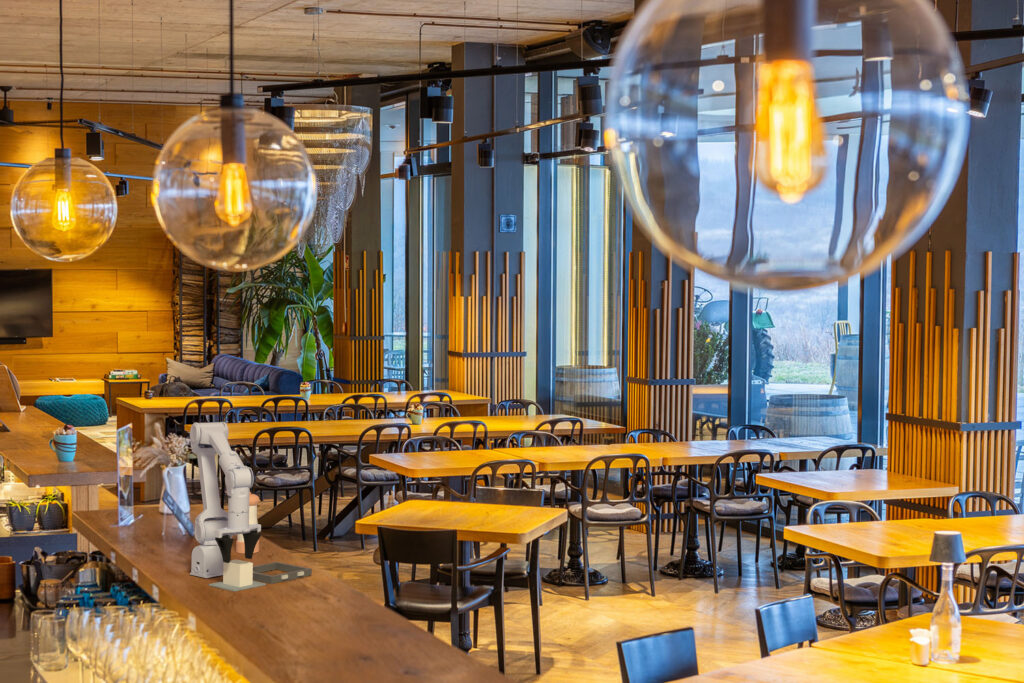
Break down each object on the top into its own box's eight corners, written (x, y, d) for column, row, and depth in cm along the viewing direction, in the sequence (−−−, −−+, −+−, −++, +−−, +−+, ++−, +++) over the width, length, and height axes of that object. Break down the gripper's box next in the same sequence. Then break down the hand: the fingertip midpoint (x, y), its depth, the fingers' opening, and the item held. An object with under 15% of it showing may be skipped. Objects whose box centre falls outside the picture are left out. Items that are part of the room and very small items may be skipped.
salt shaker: (256, 553, 362) (257, 493, 362) (233, 553, 362) (234, 493, 362) (261, 549, 369) (262, 490, 369) (239, 549, 369) (240, 490, 369)
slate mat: (234, 591, 308) (234, 590, 308) (208, 585, 315) (208, 584, 315) (265, 585, 317) (265, 583, 317) (240, 579, 324) (240, 577, 324)
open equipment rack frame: (272, 584, 318) (273, 577, 318) (236, 576, 328) (236, 569, 328) (313, 575, 330) (313, 569, 330) (277, 568, 340) (277, 561, 340)
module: (239, 587, 312) (239, 564, 312) (223, 583, 316) (223, 561, 316) (252, 584, 316) (252, 562, 316) (236, 580, 320) (236, 558, 320)
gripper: (226, 516, 308) (225, 566, 308) (268, 510, 319) (267, 558, 319) (210, 513, 312) (209, 562, 312) (252, 507, 323) (251, 555, 324)
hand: (237, 560), depth 316 cm, fingers open, 7 cm apart
